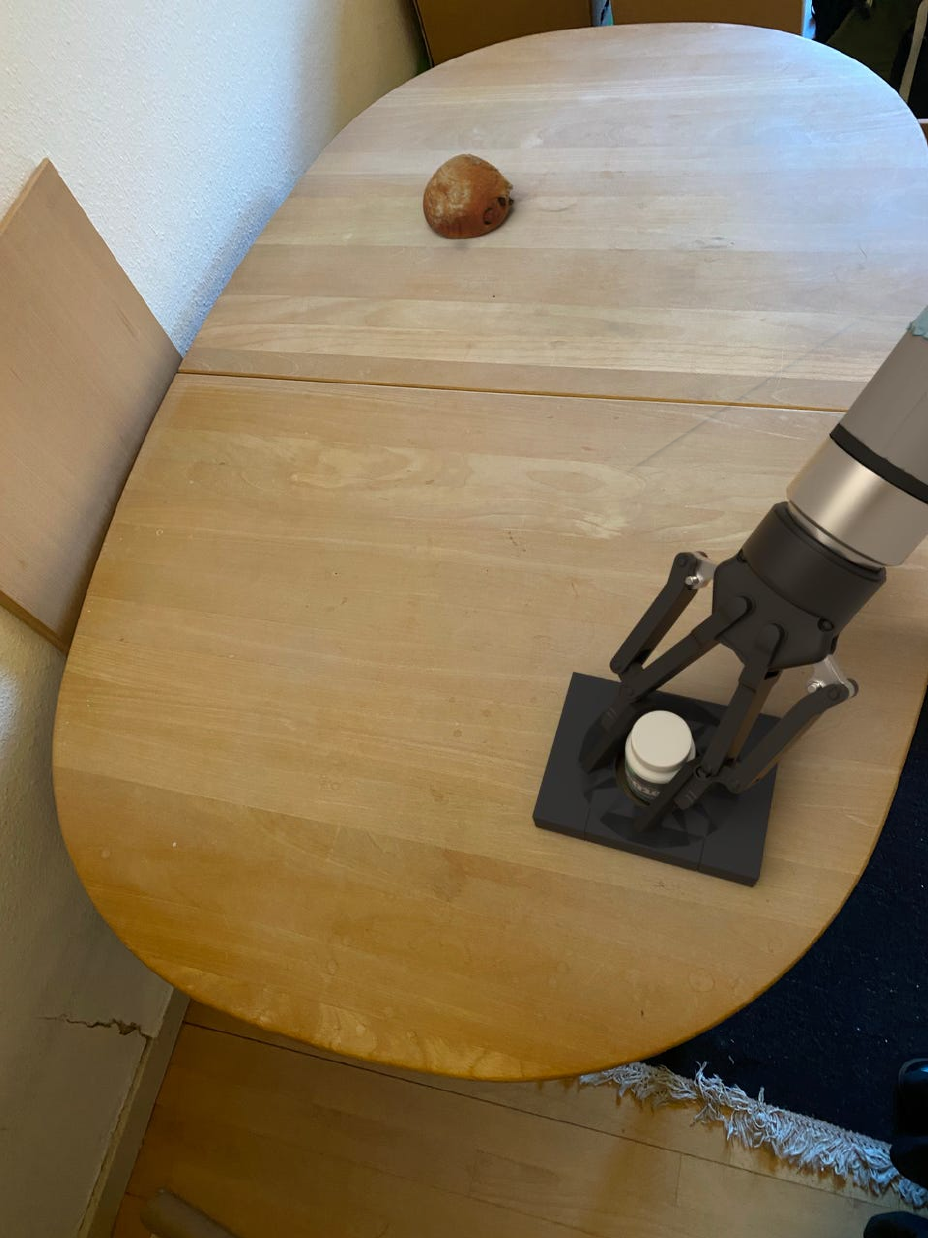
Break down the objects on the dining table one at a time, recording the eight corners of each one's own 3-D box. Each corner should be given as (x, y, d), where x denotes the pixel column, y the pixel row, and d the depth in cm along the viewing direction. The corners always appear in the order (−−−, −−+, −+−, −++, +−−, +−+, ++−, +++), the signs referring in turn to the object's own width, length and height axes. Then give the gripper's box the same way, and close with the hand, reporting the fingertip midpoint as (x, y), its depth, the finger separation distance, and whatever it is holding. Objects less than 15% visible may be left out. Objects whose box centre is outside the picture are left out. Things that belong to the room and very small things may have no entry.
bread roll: (465, 209, 105) (429, 152, 99) (532, 183, 98) (496, 121, 93) (436, 263, 101) (396, 206, 96) (503, 240, 94) (464, 178, 89)
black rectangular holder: (778, 732, 64) (785, 718, 61) (752, 888, 59) (758, 879, 56) (575, 686, 68) (573, 671, 66) (535, 827, 63) (531, 816, 61)
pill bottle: (612, 768, 64) (610, 730, 56) (661, 733, 64) (666, 690, 57) (652, 819, 61) (656, 785, 54) (702, 781, 62) (713, 743, 55)
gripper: (986, 629, 46) (734, 877, 58) (747, 449, 55) (568, 698, 66) (954, 644, 41) (683, 915, 52) (693, 442, 49) (508, 715, 61)
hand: (619, 794), depth 59 cm, fingers closed on pill bottle, 5 cm apart
